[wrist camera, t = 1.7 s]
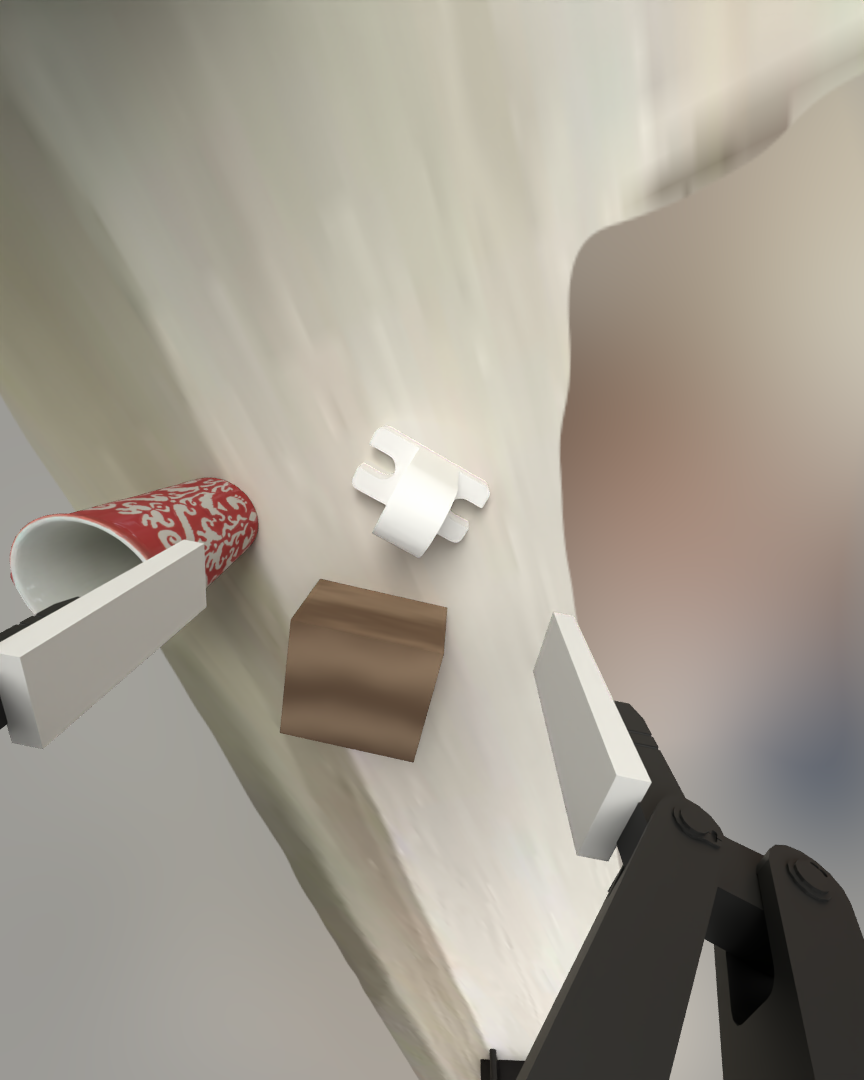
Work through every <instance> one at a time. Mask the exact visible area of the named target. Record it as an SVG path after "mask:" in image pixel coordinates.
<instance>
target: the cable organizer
mask: <svg viewBox="0 0 864 1080" xmlns="http://www.w3.org/2000/svg"><path fill="white" fill-rule="evenodd" d="M369 444H370V445H371V446H373V447H375V448H377V449H378V450H380V451H382V452H384V453H385V454H387V455H389V456H390V457H391V458H392V459H393V460H394V462H395V466H396V468H395V472H394V473H391V474H384V473H382V472H380V471H378V470H376V469H374V468H373V467H371V466H369V465H367V464H366V463H364V462H363V463H362V464H361V465H360V466H359V467H358V468H357V470H356V472H355V474H354V476H353V478H352V484H353V486H354V487H355V488H356V489H357V490H359V491H361V492H363V493H365V494H366V495H368V496H370V497H372V498H374V499H375V500H377V501H379V502H381V503H383V504H385V505H386V507H385V509H384V511H383V512H382V514H381V516H380V518H379V520H378V522H377V524H376V526H375V528H374V530H373V532H372V533H373V534H375V535H377V536H378V537H380V538H382V539H384V540H386V541H388V542H390V543H391V544H393V545H395V546H397V547H399V548H401V549H403V550H404V551H406V552H408V553H410V554H412V555H414V556H416V557H417V558H420V557H421V556H422V555H423V554H424V552H425V551H426V550H427V548H428V547H429V545H430V544H431V542H432V541H433V539H434V537H435V536H436V534H438V535H440V536H442V537H444V538H446V539H447V540H449V541H451V542H455V543H456V542H459V541H461V540H462V538H463V537H464V535H465V534H466V532H467V531H468V521H467V520H465V519H464V518H462V517H460V516H458V515H457V514H455V513H453V512H452V511H451V509H450V508H451V506H452V504H453V501H454V500H456V499H465V500H468V501H469V502H471V503H473V504H475V505H476V506H478V507H480V508H482V507H483V506H484V504H485V502H486V501H487V499H488V498H489V495H490V491H489V487H488V484H487V482H486V481H484V480H483V479H481V478H479V477H477V476H476V475H474V474H472V473H471V472H469V471H467V470H465V469H464V468H462V467H460V466H458V465H457V464H455V463H453V462H452V461H450V460H448V459H446V458H445V457H443V456H441V455H439V454H438V453H436V452H434V451H432V450H431V449H429V448H427V447H426V446H424V445H422V444H420V443H419V442H417V441H415V440H413V439H412V438H410V437H408V436H407V435H405V434H403V433H401V432H400V431H398V430H396V429H394V428H393V427H391V426H388V425H385V426H382V427H381V428H379V429H377V430H376V431H375V433H374V435H373V437H372V439H371V441H370V443H369Z"/></svg>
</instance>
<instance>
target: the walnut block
mask: <svg viewBox="0 0 864 1080" xmlns="http://www.w3.org/2000/svg"><path fill="white" fill-rule="evenodd" d="M446 616H447V608H446V607H442V606H437V605H433V604H428V603H424V602H420V601H415V600H411V599H406V598H402V597H398V596H393V595H389V594H384V593H380V592H376V591H371V590H367V589H362V588H358V587H354V586H349V585H345V584H340V583H336V582H332V581H327V580H323V579H320V580H319V581H318V583H317V584H316V585H315V587H314V588H313V589H312V591H311V592H310V594H309V595H308V596H307V598H306V599H305V601H304V602H303V603H302V605H301V606H300V608H299V609H298V610H297V612H296V613H295V614H294V616H293V617H292V619H291V623H290V634H289V644H288V654H287V665H286V675H285V686H284V696H283V706H282V717H281V727H280V733H283V734H287V735H292V736H296V737H301V738H305V739H310V740H315V741H319V742H324V743H328V744H333V745H337V746H342V747H346V748H351V749H355V750H360V751H364V752H369V753H373V754H378V755H382V756H387V757H391V758H396V759H400V760H405V761H409V762H414V759H415V755H416V751H417V748H418V744H419V741H420V737H421V734H422V730H423V726H424V723H425V719H426V716H427V712H428V709H429V705H430V701H431V698H432V694H433V691H434V687H435V683H436V680H437V676H438V673H439V669H440V666H441V662H442V658H443V655H444V643H445V630H446Z"/></svg>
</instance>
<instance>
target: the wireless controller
mask: <svg viewBox="0 0 864 1080" xmlns="http://www.w3.org/2000/svg"><path fill="white" fill-rule="evenodd" d="M524 1062H525V1061H514V1060H497V1057H496V1050H495V1049H490V1060H485V1061H484V1059H481V1080H516V1079H517V1077H518V1075H519V1073H520V1071H521V1069H522V1066H523V1064H524Z"/></svg>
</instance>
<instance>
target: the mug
mask: <svg viewBox="0 0 864 1080" xmlns="http://www.w3.org/2000/svg"><path fill="white" fill-rule="evenodd" d="M257 531H258V519H257V513H256V511H255V508H254V506H253V504H252V502H251V501H250V499H249V498H248V497H247V496H246V494H245V493H244V492H242V491H241V490H240V489H239V488H238V487H236V486H235V485H233V484H231V483H229V482H227V481H225V480H222V479H217V478H201V479H196V480H192V481H188V482H184V483H181V484H178V485H174V486H170V487H167V488H163V489H159V490H156V491H152V492H148V493H145V494H141V495H138V496H134V497H130V498H127V499H122V500H118V501H114V502H110V503H107V504H103V505H99V506H95V507H92V508H88V509H85V510H81V511H77V512H73V513H70V514H53V515H47V516H43V517H40V518H38V519H36V520H33V521H32V522H30V523H28V524H27V525H26V526H25V527H23V528H22V529H21V531H20V532H19V533H18V534H17V536H16V537H15V539H14V542H13V544H12V547H11V552H10V566H11V579H12V581H13V583H14V585H15V586H16V588H17V590H18V592H19V594H20V596H21V598H22V599H23V601H24V602H25V604H26V605H27V606H28V608H29V609H30V610H31V612H32V613H33V614H34V615H36V614H37V613H38V612H40V611H42V610H44V609H46V608H48V607H50V606H51V605H53V604H55V603H59V602H62V601H65V600H68V599H71V598H74V597H77V596H79V597H82V596H84V595H86V594H87V593H89V592H91V591H93V590H94V589H96V588H98V587H100V586H102V585H103V584H105V583H107V582H109V581H111V580H112V579H114V578H116V577H118V576H120V575H121V574H123V573H125V572H127V571H128V570H130V569H132V568H134V567H136V566H137V565H139V564H141V563H143V562H145V561H146V560H148V559H150V558H152V557H154V556H155V555H157V554H159V553H161V552H162V551H164V550H166V549H168V548H170V547H171V546H173V545H175V544H177V543H179V542H180V541H182V540H189V541H194V542H199V543H204V551H205V578H206V588H207V587H208V586H209V585H210V584H211V583H212V582H213V581H214V580H215V579H216V578H218V577H219V576H220V575H221V574H222V573H223V572H224V571H225V570H226V569H227V568H228V567H229V566H230V565H231V564H232V563H233V562H234V561H235V560H236V559H237V558H238V557H239V556H241V555H242V554H243V553H244V552H245V551H246V550H247V549H248V548H249V547H250V545H251V544H252V543H253V541H254V540H255V538H256V535H257Z"/></svg>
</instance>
